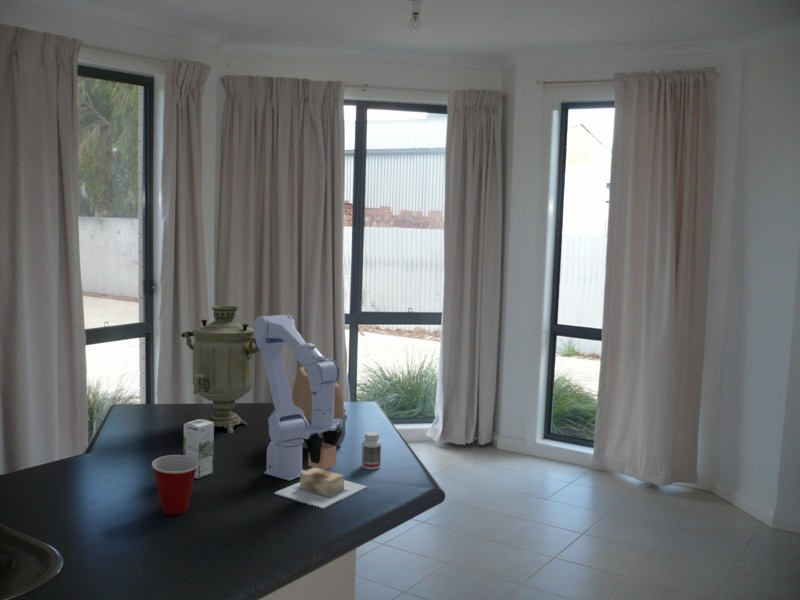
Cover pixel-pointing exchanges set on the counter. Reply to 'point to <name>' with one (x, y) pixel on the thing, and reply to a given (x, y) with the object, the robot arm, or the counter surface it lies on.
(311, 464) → the cube
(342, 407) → the orange and grey canister
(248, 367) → the samovar
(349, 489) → the white flat plate
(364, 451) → the pill bottle
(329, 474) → the slab
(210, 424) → the syrup box
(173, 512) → the plastic cup
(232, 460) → the counter surface
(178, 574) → the counter surface
